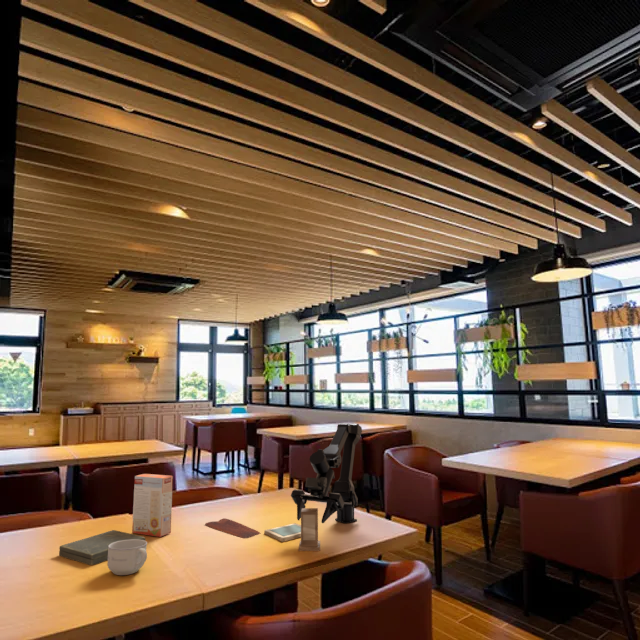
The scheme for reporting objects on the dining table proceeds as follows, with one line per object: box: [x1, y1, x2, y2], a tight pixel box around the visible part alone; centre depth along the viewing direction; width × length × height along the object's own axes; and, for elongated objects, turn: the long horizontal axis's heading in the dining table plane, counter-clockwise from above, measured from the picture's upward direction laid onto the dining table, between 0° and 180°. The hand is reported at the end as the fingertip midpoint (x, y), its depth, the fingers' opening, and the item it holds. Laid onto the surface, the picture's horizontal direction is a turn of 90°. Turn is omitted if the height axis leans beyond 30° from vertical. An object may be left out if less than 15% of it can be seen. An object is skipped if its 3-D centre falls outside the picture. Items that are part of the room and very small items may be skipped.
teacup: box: [107, 539, 148, 576], centre depth 137 cm, size 14×11×8 cm
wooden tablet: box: [204, 518, 261, 539], centre depth 179 cm, size 27×10×2 cm, turn 45°
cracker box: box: [131, 473, 174, 538], centre depth 176 cm, size 14×6×21 cm, turn 65°
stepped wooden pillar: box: [298, 507, 321, 552], centre depth 158 cm, size 7×7×12 cm
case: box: [58, 529, 146, 566], centre depth 156 cm, size 18×4×20 cm
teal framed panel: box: [263, 522, 301, 543], centre depth 172 cm, size 14×12×1 cm
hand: (310, 521), depth 159 cm, fingers open, 9 cm apart
